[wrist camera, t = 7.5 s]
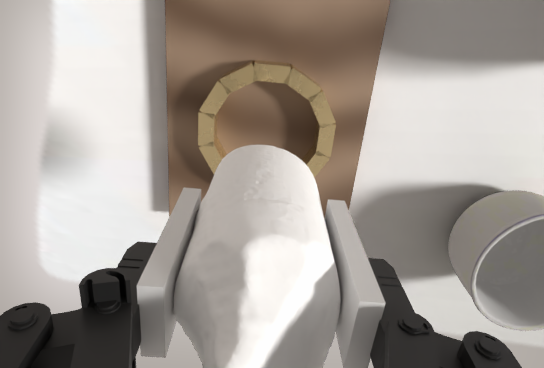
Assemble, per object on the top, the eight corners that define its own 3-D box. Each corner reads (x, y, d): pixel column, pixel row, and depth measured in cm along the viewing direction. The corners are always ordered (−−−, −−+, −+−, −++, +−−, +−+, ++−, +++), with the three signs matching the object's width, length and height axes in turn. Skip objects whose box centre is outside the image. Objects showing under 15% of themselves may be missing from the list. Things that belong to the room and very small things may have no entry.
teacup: (428, 274, 39) (464, 334, 32) (441, 177, 35) (487, 222, 28) (565, 268, 39) (633, 327, 32) (596, 169, 35) (684, 212, 27)
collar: (203, 54, 29) (199, 57, 27) (340, 68, 29) (344, 71, 28) (201, 180, 33) (197, 190, 31) (320, 190, 34) (323, 200, 32)
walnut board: (169, -35, 28) (164, -38, 26) (387, -12, 28) (393, -13, 27) (173, 208, 36) (169, 216, 35) (341, 221, 37) (344, 230, 35)
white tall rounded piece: (422, 475, 9) (219, 538, 10) (338, 220, 20) (244, 263, 21) (309, 300, 7) (64, 404, 8) (283, 120, 18) (182, 175, 19)
